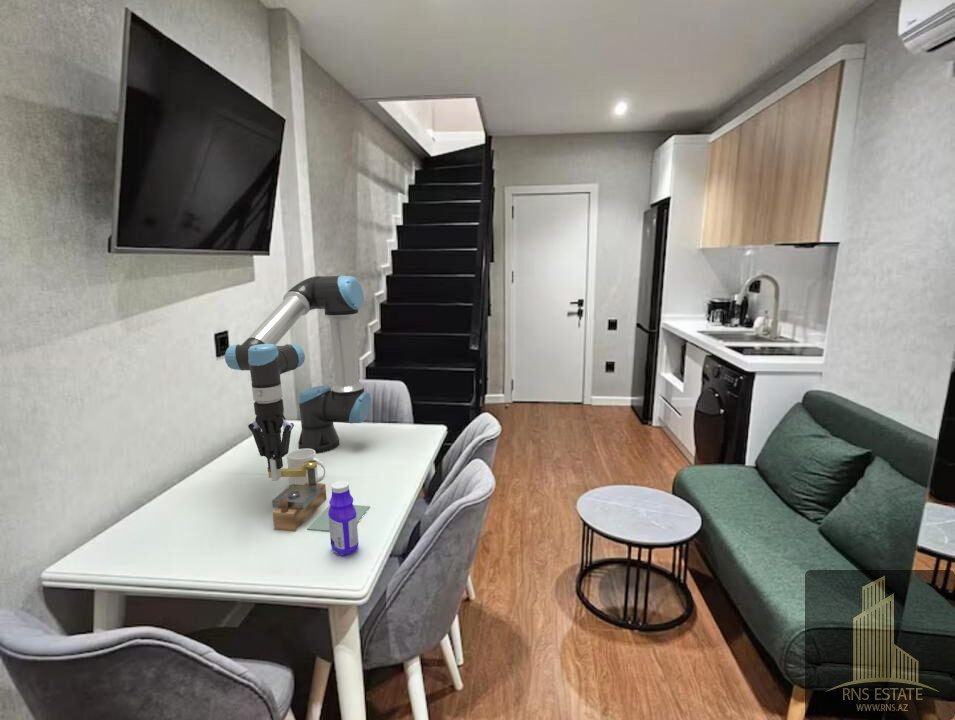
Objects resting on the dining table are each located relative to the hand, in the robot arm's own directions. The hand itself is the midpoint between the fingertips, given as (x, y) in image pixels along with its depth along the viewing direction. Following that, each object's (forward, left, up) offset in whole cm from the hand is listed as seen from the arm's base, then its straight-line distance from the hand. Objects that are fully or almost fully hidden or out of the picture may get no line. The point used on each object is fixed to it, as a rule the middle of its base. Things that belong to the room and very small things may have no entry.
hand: (276, 478), depth 144 cm
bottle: (+17, +28, -9) cm, 34 cm away
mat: (+3, +20, -9) cm, 22 cm away
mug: (-15, +1, -9) cm, 17 cm away
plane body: (+2, +8, -9) cm, 12 cm away
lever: (-3, +3, 0) cm, 5 cm away
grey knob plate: (+4, +8, -4) cm, 10 cm away
